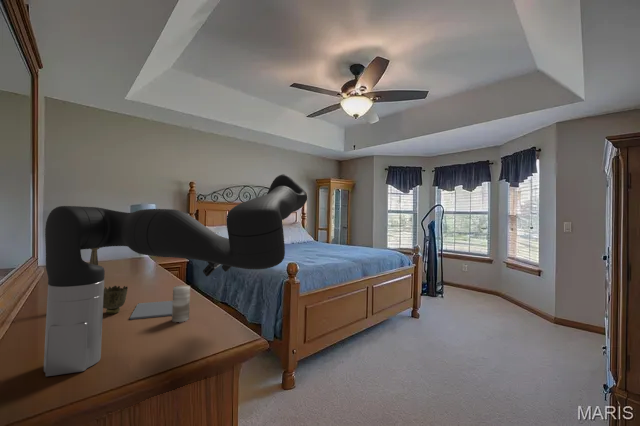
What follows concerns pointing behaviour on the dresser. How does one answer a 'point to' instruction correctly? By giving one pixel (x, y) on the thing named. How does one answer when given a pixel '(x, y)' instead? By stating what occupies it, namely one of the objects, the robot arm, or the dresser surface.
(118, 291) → the cup
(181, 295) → the cream peg
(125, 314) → the dresser surface
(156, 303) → the slate mat
